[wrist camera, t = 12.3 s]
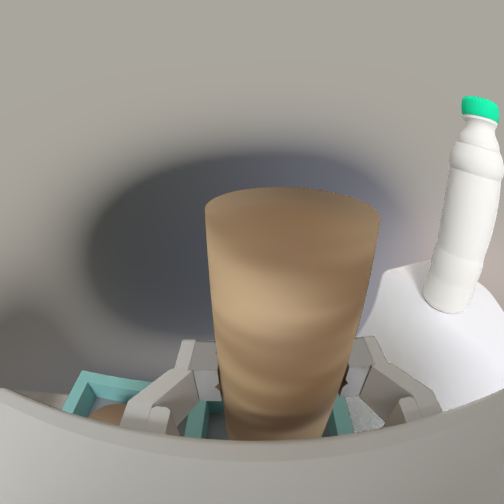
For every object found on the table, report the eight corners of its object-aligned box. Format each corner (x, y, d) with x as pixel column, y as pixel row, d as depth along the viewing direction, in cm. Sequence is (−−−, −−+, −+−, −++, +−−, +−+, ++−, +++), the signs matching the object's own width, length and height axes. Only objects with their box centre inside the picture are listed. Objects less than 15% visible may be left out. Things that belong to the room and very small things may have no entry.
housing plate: (49, 495, 10) (18, 473, 8) (92, 388, 20) (76, 358, 18) (364, 529, 9) (387, 518, 8) (338, 402, 19) (348, 371, 18)
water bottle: (411, 295, 32) (441, 89, 22) (438, 281, 35) (466, 102, 24) (452, 323, 26) (497, 96, 16) (475, 305, 29) (514, 111, 18)
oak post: (229, 488, 11) (187, 238, 5) (233, 424, 15) (216, 187, 9) (314, 485, 11) (411, 240, 5) (306, 423, 15) (349, 189, 9)
